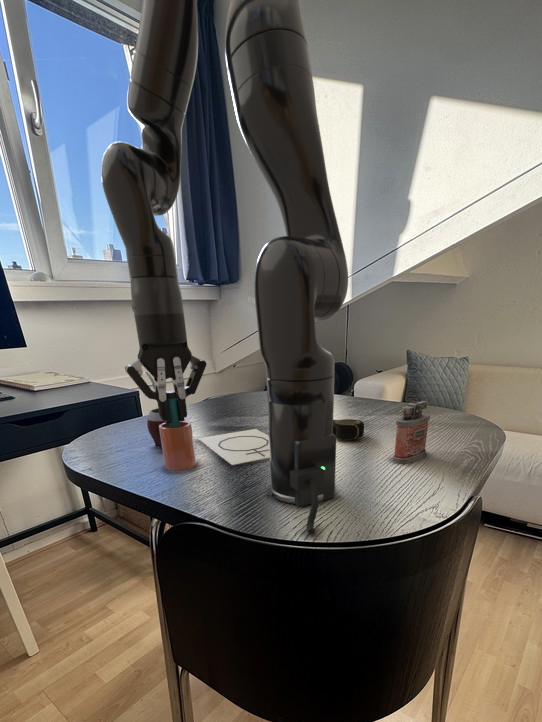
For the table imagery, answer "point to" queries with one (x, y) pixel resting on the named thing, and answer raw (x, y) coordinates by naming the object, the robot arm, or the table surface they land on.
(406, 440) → the lighter
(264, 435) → the sketch pad
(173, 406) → the pen
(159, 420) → the mate gourd
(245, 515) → the table surface
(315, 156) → the robot arm
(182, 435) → the pen cup
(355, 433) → the tape measure
